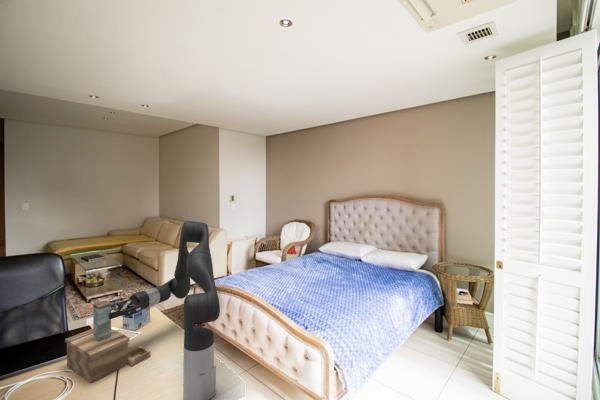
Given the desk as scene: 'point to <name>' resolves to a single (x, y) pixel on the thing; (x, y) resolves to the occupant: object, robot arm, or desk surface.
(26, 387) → the desk surface
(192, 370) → the robot arm
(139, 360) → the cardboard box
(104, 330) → the grey block with cap
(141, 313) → the light bulb box
